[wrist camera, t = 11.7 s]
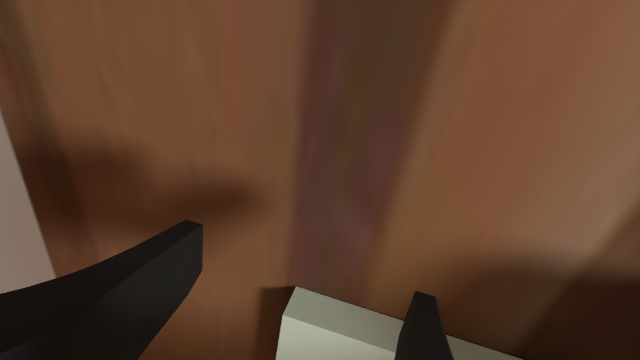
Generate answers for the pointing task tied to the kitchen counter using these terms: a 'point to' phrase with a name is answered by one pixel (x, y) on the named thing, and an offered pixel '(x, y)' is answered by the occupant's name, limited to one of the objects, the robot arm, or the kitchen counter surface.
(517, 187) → the kitchen counter surface
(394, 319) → the socket board
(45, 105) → the kitchen counter surface
